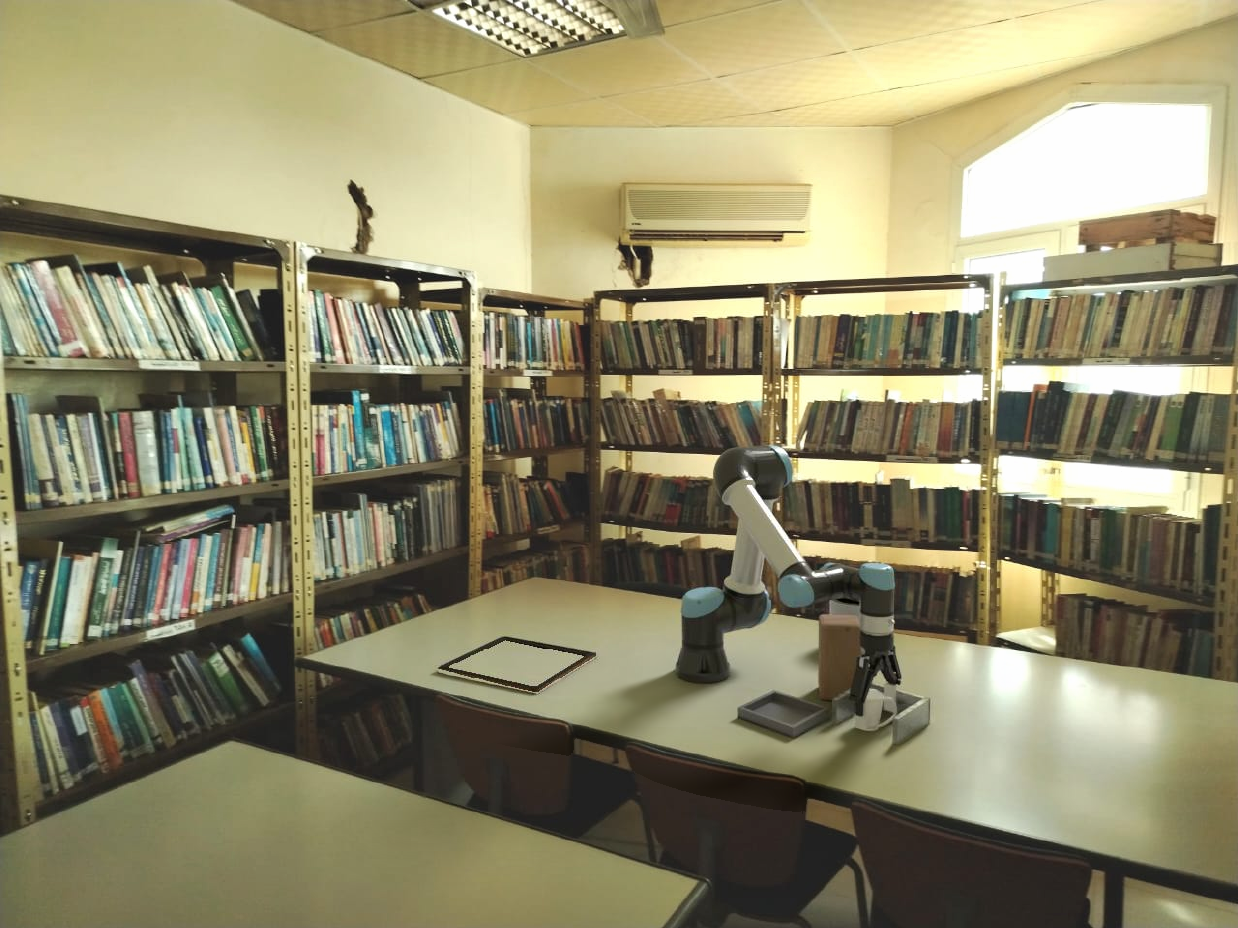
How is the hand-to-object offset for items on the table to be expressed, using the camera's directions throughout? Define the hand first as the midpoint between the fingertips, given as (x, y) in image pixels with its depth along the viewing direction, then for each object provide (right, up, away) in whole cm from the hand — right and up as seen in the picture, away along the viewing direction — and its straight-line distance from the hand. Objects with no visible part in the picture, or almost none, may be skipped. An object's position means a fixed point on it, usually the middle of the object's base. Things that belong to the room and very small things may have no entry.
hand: (875, 719), depth 181 cm
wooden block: (-3, 0, +19) cm, 20 cm away
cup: (0, -2, 0) cm, 2 cm away
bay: (+2, -1, +2) cm, 3 cm away
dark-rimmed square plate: (-89, 0, +45) cm, 100 cm away
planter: (+12, +4, +54) cm, 56 cm away
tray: (-20, -2, +6) cm, 21 cm away
